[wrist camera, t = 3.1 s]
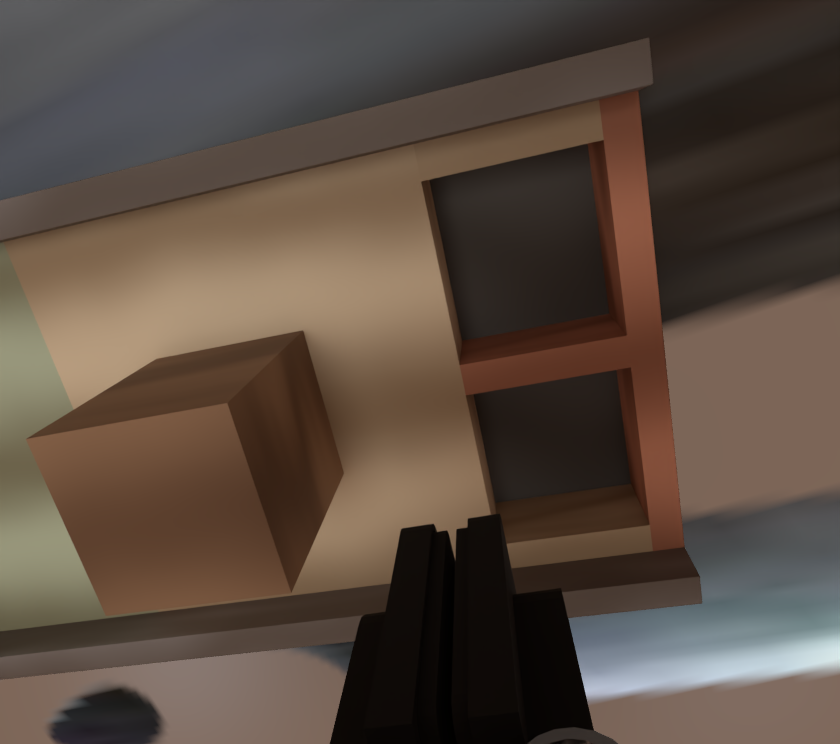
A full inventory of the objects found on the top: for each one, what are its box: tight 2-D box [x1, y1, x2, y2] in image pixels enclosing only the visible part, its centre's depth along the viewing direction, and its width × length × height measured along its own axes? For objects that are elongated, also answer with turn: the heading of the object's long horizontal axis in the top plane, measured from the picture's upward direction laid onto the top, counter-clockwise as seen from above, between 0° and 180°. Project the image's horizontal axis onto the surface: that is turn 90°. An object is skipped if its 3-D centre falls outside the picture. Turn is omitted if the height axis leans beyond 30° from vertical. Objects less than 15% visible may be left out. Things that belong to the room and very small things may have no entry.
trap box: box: [0, 38, 702, 680], centre depth 21 cm, size 16×28×4 cm, turn 102°
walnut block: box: [26, 330, 344, 616], centre depth 17 cm, size 5×5×6 cm
